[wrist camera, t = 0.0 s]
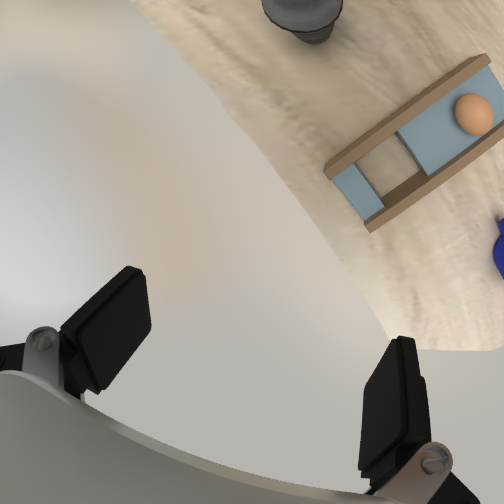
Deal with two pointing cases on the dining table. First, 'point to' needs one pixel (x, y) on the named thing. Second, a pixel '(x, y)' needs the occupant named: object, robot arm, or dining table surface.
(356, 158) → the board
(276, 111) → the dining table surface
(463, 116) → the ball
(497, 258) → the mug
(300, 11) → the beverage cup
